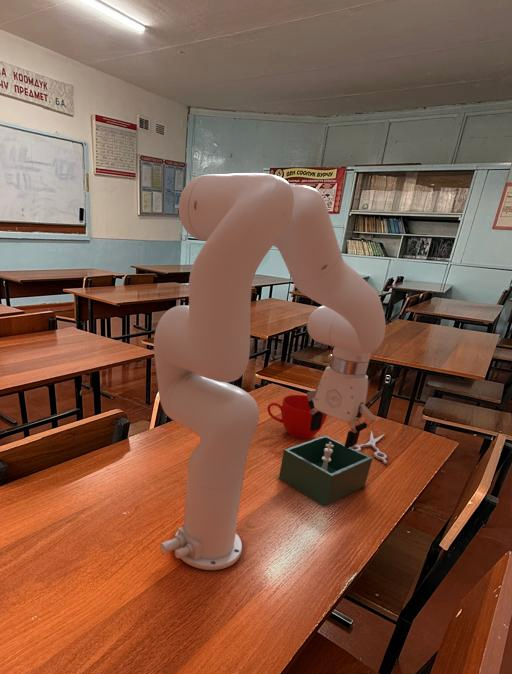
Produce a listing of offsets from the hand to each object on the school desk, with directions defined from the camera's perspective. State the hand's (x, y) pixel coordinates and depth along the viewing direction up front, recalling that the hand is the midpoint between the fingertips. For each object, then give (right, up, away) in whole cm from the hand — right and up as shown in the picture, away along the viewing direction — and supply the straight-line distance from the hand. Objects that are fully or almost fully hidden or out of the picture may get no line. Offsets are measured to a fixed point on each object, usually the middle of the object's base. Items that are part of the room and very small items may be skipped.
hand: (331, 437), depth 100 cm
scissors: (+20, -3, +26) cm, 33 cm away
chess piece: (-1, -10, +5) cm, 11 cm away
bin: (-1, -11, +5) cm, 12 cm away
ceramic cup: (-2, 0, +29) cm, 29 cm away
